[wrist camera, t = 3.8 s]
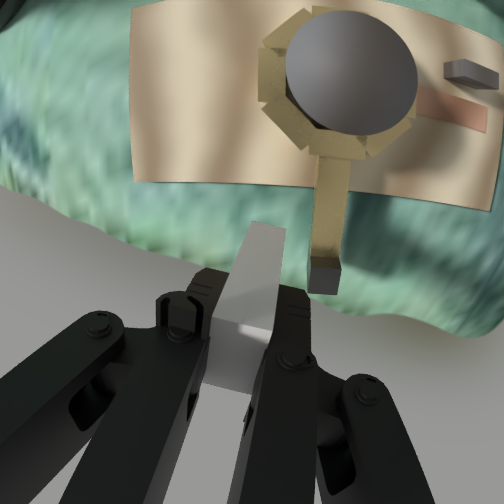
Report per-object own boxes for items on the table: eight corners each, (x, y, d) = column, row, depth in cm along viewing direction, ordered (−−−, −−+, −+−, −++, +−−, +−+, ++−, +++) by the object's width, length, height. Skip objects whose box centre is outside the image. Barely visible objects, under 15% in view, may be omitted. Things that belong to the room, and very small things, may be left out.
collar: (266, 23, 15) (257, -1, 11) (394, 37, 14) (420, 20, 10) (261, 253, 22) (252, 288, 18) (372, 261, 21) (387, 297, 17)
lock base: (141, 178, 22) (70, 219, 14) (139, 11, 16) (65, -18, 8) (482, 206, 19) (546, 256, 11) (494, 46, 12) (567, 37, 5)
